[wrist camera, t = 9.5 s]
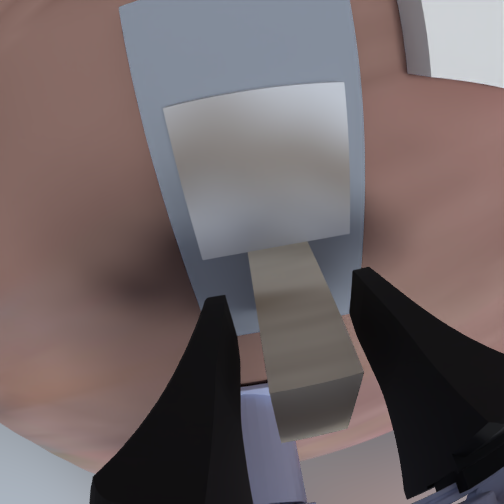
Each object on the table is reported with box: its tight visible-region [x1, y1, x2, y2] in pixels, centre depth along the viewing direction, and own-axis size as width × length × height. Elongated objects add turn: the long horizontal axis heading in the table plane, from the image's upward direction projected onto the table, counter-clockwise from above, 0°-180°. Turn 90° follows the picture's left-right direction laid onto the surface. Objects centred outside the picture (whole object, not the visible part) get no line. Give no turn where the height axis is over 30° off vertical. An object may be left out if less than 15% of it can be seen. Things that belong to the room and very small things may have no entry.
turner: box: [163, 81, 364, 443], centre depth 9 cm, size 10×6×7 cm, turn 9°
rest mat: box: [119, 0, 365, 336], centre depth 11 cm, size 16×8×1 cm, turn 9°
